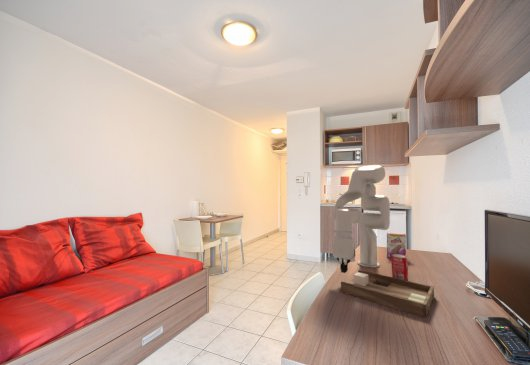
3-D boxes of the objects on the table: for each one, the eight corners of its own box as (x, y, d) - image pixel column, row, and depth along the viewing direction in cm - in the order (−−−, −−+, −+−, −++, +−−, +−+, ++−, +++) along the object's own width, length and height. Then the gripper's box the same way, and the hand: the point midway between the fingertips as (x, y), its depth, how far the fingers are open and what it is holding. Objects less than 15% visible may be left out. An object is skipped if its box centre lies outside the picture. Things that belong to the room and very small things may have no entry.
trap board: (358, 278, 124) (358, 269, 124) (434, 296, 103) (433, 286, 103) (340, 292, 108) (340, 282, 108) (426, 317, 87) (425, 305, 87)
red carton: (410, 285, 115) (410, 258, 116) (394, 284, 117) (394, 257, 117) (405, 279, 122) (404, 254, 123) (389, 278, 124) (389, 253, 124)
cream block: (357, 280, 116) (357, 272, 116) (368, 283, 113) (368, 274, 113) (353, 283, 112) (353, 274, 113) (364, 286, 109) (364, 277, 109)
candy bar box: (387, 257, 162) (386, 233, 163) (386, 255, 167) (386, 232, 167) (406, 259, 158) (405, 234, 158) (405, 257, 162) (404, 233, 163)
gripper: (326, 233, 121) (326, 270, 120) (356, 237, 111) (356, 277, 110) (333, 231, 126) (333, 267, 125) (362, 235, 116) (362, 273, 115)
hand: (344, 271), depth 118 cm, fingers closed
